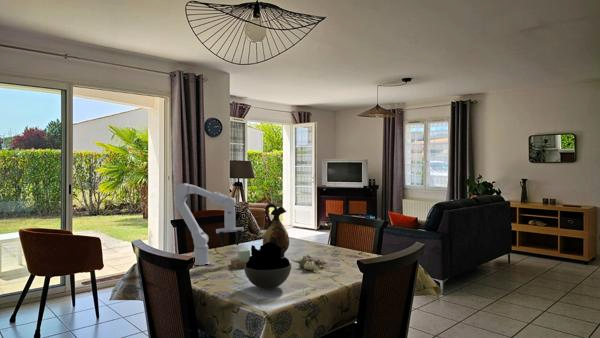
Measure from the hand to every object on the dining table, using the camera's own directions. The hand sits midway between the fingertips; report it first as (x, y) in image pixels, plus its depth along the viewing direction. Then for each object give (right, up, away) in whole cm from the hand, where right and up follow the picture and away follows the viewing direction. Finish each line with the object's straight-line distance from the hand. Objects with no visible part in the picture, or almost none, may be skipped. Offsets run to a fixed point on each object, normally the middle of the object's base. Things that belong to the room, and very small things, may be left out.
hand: (230, 245), depth 215 cm
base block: (+8, -9, -5) cm, 13 cm away
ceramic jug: (+23, -9, +18) cm, 30 cm away
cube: (+8, -6, -5) cm, 11 cm away
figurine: (+43, -10, -13) cm, 46 cm away
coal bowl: (+24, -10, -44) cm, 51 cm away
